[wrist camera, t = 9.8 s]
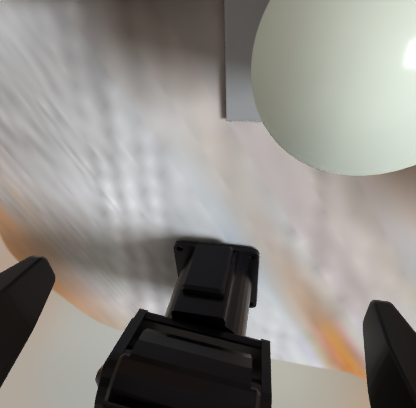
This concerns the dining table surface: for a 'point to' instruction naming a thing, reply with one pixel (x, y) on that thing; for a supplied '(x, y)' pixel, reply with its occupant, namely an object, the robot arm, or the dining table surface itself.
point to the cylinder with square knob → (339, 82)
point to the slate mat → (241, 57)
